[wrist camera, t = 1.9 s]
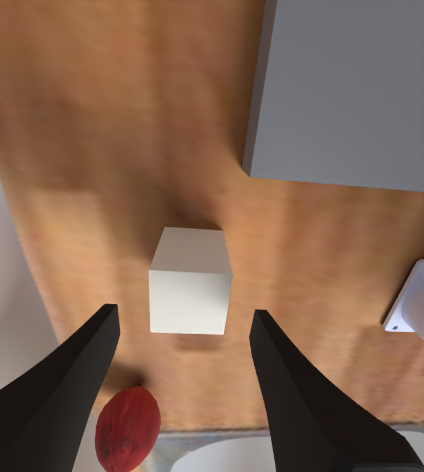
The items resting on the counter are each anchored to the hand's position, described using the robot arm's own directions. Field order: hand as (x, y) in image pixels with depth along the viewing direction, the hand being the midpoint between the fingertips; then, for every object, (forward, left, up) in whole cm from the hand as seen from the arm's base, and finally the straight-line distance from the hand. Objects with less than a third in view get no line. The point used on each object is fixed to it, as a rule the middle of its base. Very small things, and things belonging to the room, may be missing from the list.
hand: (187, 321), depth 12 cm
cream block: (0, 0, -7) cm, 7 cm away
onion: (+5, +17, -7) cm, 19 cm away
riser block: (-9, -13, -7) cm, 17 cm away
